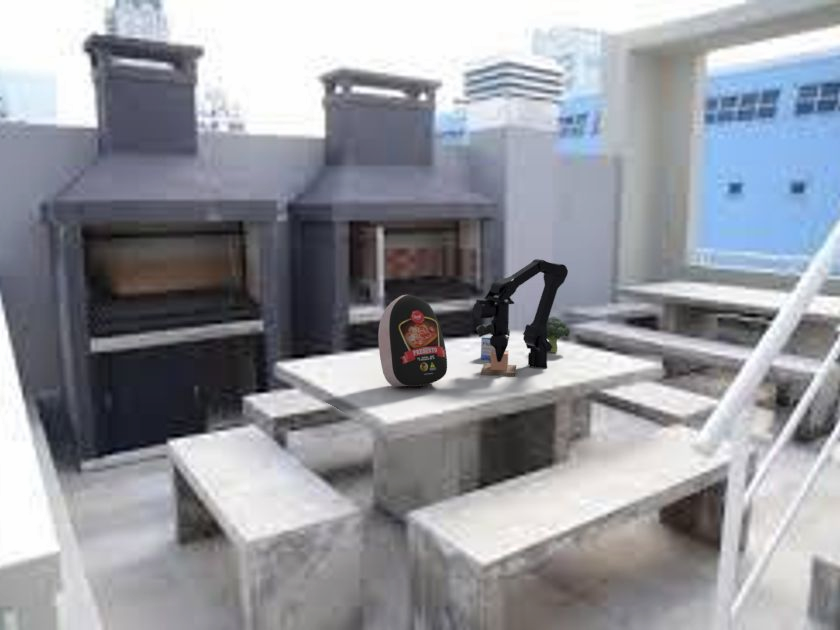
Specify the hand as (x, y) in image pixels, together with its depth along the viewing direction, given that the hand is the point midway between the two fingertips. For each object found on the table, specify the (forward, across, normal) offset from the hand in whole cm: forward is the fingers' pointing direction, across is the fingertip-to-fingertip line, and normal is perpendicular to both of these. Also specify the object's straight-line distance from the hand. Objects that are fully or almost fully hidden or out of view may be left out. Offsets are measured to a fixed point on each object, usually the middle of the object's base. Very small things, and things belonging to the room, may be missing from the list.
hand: (499, 359), depth 248 cm
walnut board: (+4, 0, 0) cm, 4 cm away
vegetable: (+5, -36, +20) cm, 41 cm away
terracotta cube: (+3, 0, 0) cm, 3 cm away
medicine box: (+5, -20, -4) cm, 21 cm away
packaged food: (+5, +24, -28) cm, 37 cm away
